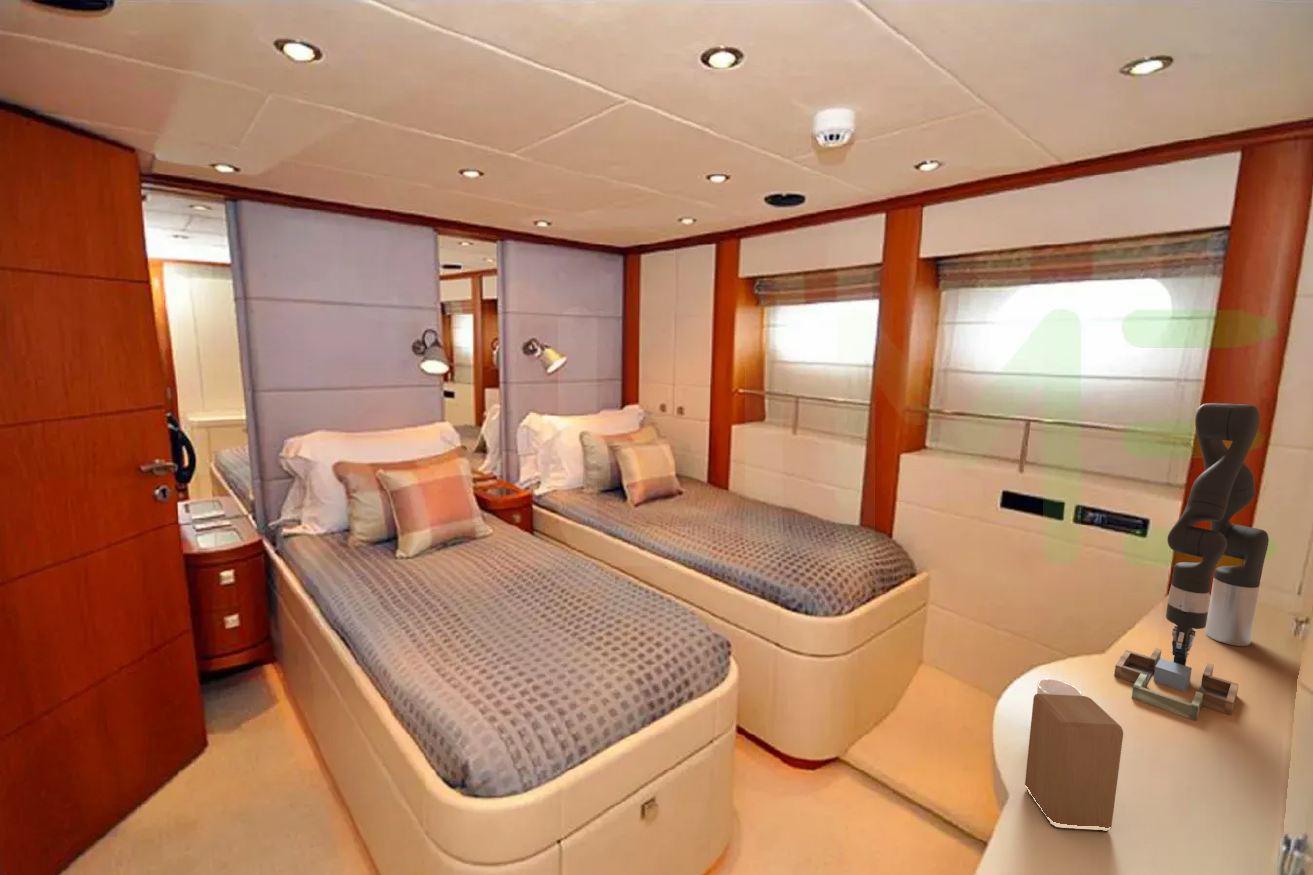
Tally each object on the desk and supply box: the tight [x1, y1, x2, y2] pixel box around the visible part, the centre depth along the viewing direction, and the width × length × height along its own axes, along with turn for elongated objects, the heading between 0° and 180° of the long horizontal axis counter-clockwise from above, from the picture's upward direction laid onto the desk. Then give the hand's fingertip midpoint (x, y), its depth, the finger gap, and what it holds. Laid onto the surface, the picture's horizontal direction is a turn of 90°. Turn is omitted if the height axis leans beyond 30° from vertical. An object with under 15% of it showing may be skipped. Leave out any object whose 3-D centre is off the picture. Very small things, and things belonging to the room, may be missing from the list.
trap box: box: [1113, 647, 1239, 721], centre depth 143 cm, size 27×21×3 cm
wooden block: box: [1024, 693, 1124, 828], centre depth 104 cm, size 10×10×20 cm
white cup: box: [1036, 678, 1083, 696], centre depth 126 cm, size 8×8×10 cm
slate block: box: [1153, 657, 1193, 692], centre depth 145 cm, size 6×6×4 cm
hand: (1178, 669), depth 148 cm, fingers closed
